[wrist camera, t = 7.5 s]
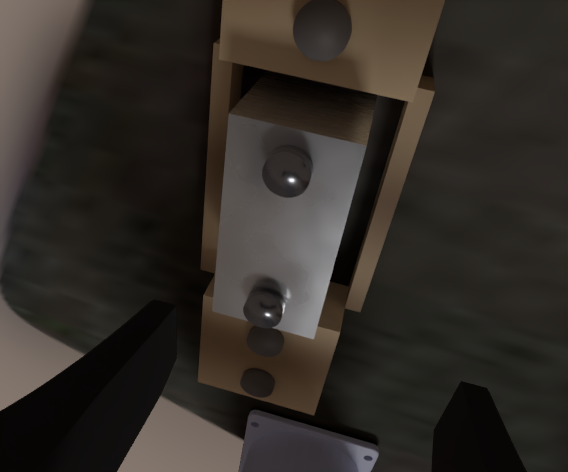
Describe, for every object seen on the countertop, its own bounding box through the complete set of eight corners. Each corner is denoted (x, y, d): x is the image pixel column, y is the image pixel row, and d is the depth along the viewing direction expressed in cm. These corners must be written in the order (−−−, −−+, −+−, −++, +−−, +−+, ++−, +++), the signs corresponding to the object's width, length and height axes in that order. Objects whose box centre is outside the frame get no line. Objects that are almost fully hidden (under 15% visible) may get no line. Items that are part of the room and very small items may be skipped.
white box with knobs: (332, 259, 22) (310, 351, 18) (248, 237, 23) (206, 322, 18) (378, 89, 17) (364, 154, 13) (271, 65, 18) (222, 120, 13)
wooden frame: (336, 371, 26) (326, 426, 23) (205, 334, 27) (181, 384, 24) (506, -143, 13) (529, -154, 10) (243, -187, 14) (201, -209, 11)
